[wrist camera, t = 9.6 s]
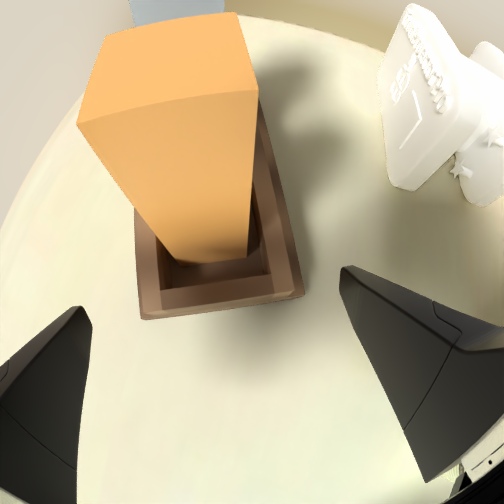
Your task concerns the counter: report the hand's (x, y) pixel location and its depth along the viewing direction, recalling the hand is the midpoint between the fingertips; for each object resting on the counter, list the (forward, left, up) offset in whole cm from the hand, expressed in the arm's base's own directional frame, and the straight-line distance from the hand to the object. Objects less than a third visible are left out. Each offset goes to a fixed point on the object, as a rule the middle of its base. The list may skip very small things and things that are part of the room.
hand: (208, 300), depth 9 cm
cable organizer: (-15, -18, -9) cm, 25 cm away
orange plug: (+2, -5, -8) cm, 9 cm away
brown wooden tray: (+3, -9, -9) cm, 13 cm away
